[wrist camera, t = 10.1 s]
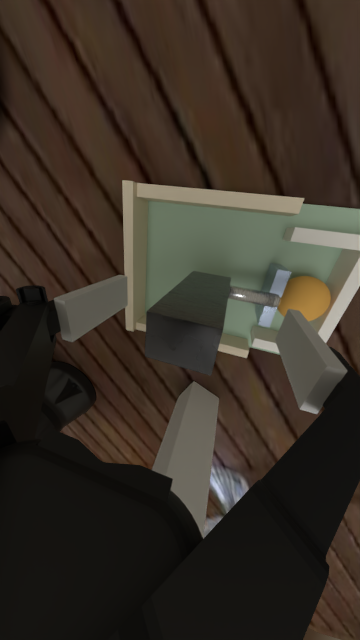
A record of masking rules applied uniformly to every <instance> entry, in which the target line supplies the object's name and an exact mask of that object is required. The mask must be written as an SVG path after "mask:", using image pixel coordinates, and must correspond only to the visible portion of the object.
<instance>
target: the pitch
mask: <svg viewBox="0 0 360 640" xmlns="http://www.w3.org/2000/svg"><path fill="white" fill-rule="evenodd" d="M122 184H123V227H124V271H125V276H127V290H128V306H126V307H125V314H126V330H129V331H134V330H135V329H137V330H141V331H145V332H146V312H147V310H148V309H150V308H151V307H152V306H153V305H154V304H155V303H157V302H158V301H159V300H160V299H161V298H162V297H164V296H165V295H166V294H167V293H168V292H169V291H171V290H172V289H173V288H174V287H175V286H176V285H177V284H179V283H180V282H181V281H182V280H183V279H184V278H186V277H187V276H188V275H189V274H190V273H191V272H193V271H197V272H203V273H208V274H214V275H219V276H225V277H230V278H231V282H230V285H232V286H237V287H243V288H248V289H253V290H258V291H261V289H262V286H263V283H264V280H265V277H266V274H267V271H268V268H269V265H270V263H276V264H281V265H283V266H284V267H285V268H287V269H288V270H289V271H291V274H290V277H289V279H288V280H290V279H292V278H295V277H299V276H310V277H314V278H317V279H319V280H321V281H322V282H324V283H325V284H326V286H327V287H328V289H329V291H330V295H331V301H330V305H329V307H328V309H327V310H326V311H325V313H324V314H322V315H321V316H320V317H318V318H317V319H315V320H312V321H308V322H309V323H310V324H311V326H312V327H313V328H314V329H315V331H316V332H317V333H318V334H319V336H320V337H321V338H322V339H323V341H324V342H325V343H326V342H327V340H328V339H329V337H330V335H331V334H332V332H333V330H334V328H335V327H336V325H337V323H338V322H339V320H340V318H341V317H342V315H343V313H344V312H345V310H346V308H347V306H348V305H349V303H350V301H351V300H352V298H353V296H354V295H355V293H356V291H357V289H358V288H359V286H360V209H353V208H342V207H332V206H322V205H311V204H303V201H304V198H296V197H285V196H274V195H263V194H252V193H241V192H230V191H219V190H208V189H197V188H186V187H175V186H164V185H153V184H142V183H136V182H134V181H125V180H122ZM255 307H256V304H253V303H248V302H243V301H238V300H233V299H228V302H227V308H226V315H225V321H224V328H223V332H222V336H221V340H220V344H219V347H218V351H221V352H225V353H229V354H232V355H236V356H240V357H244V358H247V355H248V353H249V347H252V348H256V349H260V350H264V351H268V352H272V353H276V354H280V353H279V350H278V347H277V344H276V341H275V339H276V336H277V334H278V331H279V329H280V327H281V324H282V322H283V320H284V316H283V315H282V314H281V313H280V312H279V311H278V309H277V310H276V312H275V315H274V317H273V320H272V322H271V325H270V327H265V326H261V325H258V323H257V318H256V314H255Z"/></svg>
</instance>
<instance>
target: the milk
mask: <svg viewBox="0 0 360 640" xmlns="http://www.w3.org/2000/svg"><path fill="white" fill-rule="evenodd" d="M218 405H219V398H218V397H217V396H215V395H214V394H212V393H211V392H209V391H208V390H206V389H205V388H204V387H202V386H201V385H199V384H198V383H196V382H195V381H193V382H192V383H191V384H190V385H189V386H188V387H187V388H186V389H185V390H184V391H183V392H182V393H181V395H180V396H179V397H178V399H177V402H176V405H175V408H174V410H173V413H172V416H171V419H170V421H169V424H168V427H167V430H166V432H165V435H164V438H163V441H162V443H161V446H160V449H159V452H158V454H157V457H156V460H155V463H154V465H153V468H152V470H153V471H155V472H157V473H160V474H162V475H165V476H167V477H170V478H172V479H173V481H172V486H171V491H172V492H173V493H174V494H176V495H177V496H178V497H179V498H180V500H181V501H182V502H183V503H184V504H185V505H186V507H187V508H188V510H189V511H190V513H191V514H192V516H193V518H194V520H195V522H196V523H197V525H198V527H199V530H200V532H201V535H202V537H203V536H204V528H205V519H206V510H207V501H208V493H209V484H210V475H211V466H212V458H213V449H214V440H215V431H216V423H217V414H218Z"/></svg>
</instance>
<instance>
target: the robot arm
mask: <svg viewBox="0 0 360 640" xmlns="http://www.w3.org/2000/svg"><path fill="white" fill-rule="evenodd" d="M16 292H17V295H18V299H19V302H20V304H19V305H12V304H11V301H10V298H9V297H7V296H0V640H303V638H304V635H305V632H306V631H307V628H308V626H309V624H310V621H311V619H312V616H313V614H314V611H315V609H316V607H317V604H318V602H319V599H320V597H321V594H322V592H323V590H324V587H325V584H326V581H327V578H328V575H329V565H328V564H327V562H326V561H325V560H326V554H327V552H328V549H329V547H330V545H331V543H332V540H333V538H334V536H335V534H336V532H337V529H338V527H339V525H340V523H341V521H342V518H343V516H344V514H345V512H346V509H347V507H348V505H349V503H350V501H351V498H352V496H353V494H354V492H355V490H356V487H357V485H358V483H359V481H360V376H359V375H358V374H357V373H356V372H355V370H354V369H353V368H352V367H351V366H349V363H348V362H347V361H346V360H345V359H344V358H343V356H342V355H341V354H340V353H339V352H337V351H336V350H335V349H333V348H332V347H328V346H327V344H326V343H325V342H324V341H323V339H322V338H321V337H320V336H319V334H318V333H317V332H316V331H315V329H314V328H313V327H312V326H311V324H310V323H309V322H308V321H307V319H306V318H305V317H304V316H303V315H302V313H301V312H300V311H298V310H293V309H288V310H287V313H286V315H285V317H284V320H283V322H282V324H281V327H280V329H279V331H278V334H277V336H276V339H275V341H276V344H277V347H278V350H279V353H280V355H281V358H282V361H283V364H284V367H285V369H286V372H287V375H288V378H289V381H290V384H291V386H292V389H293V392H294V395H295V398H296V400H297V403H298V406H299V409H301V410H304V411H308V412H311V413H315V414H317V413H318V412H319V410H320V409H321V408H322V406H324V408H325V410H324V411H323V412H322V413H321V414H320V416H319V417H318V418H317V419H316V420H315V421H314V422H313V423H312V424H311V425H310V427H309V428H308V429H307V430H306V431H305V432H304V433H303V434H302V435H301V436H300V438H299V439H298V440H297V441H296V442H295V443H294V444H293V445H292V446H291V447H290V449H289V450H288V451H287V452H286V453H285V454H284V455H283V456H282V457H281V458H280V460H279V461H278V462H277V463H276V464H275V465H274V466H273V467H272V468H271V470H270V471H269V472H268V473H267V474H266V475H265V476H264V477H263V478H262V479H261V480H258V481H257V482H256V483H255V484H254V485H253V486H252V487H251V488H250V489H249V490H248V491H247V492H246V493H245V495H244V496H243V497H242V498H241V499H240V500H239V501H238V502H237V503H236V504H235V505H234V506H233V508H232V509H231V510H230V511H229V512H228V513H227V514H226V515H225V516H224V517H223V518H222V519H221V521H220V522H219V523H218V524H217V525H216V526H215V527H214V528H213V529H212V530H211V531H210V533H209V534H208V535H207V536H206V537H205V538H204V539H203V537H202V535H201V532H200V530H199V527H198V525H197V523H196V522H195V520H194V518H193V516H192V514H191V513H190V511H189V510H188V508H187V507H186V505H185V504H184V503H183V502H182V501H181V500H180V498H179V497H178V496H177V495H176V494H174V493H173V492H172V491H171V486H172V481H173V479H172V478H170V477H167V476H165V475H162V474H160V473H157V472H155V471H153V470H150V469H148V468H145V467H143V466H140V465H129V464H116V463H105V462H102V461H100V460H99V459H98V458H97V457H96V456H95V455H94V454H93V453H92V452H91V451H90V450H89V449H88V448H87V447H85V446H84V445H83V444H82V443H81V442H80V441H79V440H77V439H75V438H73V437H70V436H68V435H65V434H63V433H60V431H61V430H62V428H63V427H65V426H66V425H68V424H69V423H71V422H72V421H74V420H75V419H76V418H78V417H79V416H81V415H82V414H84V413H85V412H87V411H88V410H89V409H90V407H91V406H92V405H93V404H94V403H95V400H96V394H95V390H94V388H93V386H92V384H91V383H90V381H89V380H88V379H87V378H86V377H85V375H83V374H82V373H81V372H80V371H79V370H77V369H76V368H74V367H73V366H71V365H69V364H66V363H63V362H52V357H53V353H54V348H55V344H56V335H55V334H56V333H58V332H59V331H61V335H62V339H64V340H67V341H70V342H73V341H75V340H76V339H78V338H79V337H81V336H82V335H84V334H85V333H87V332H88V331H90V330H91V329H93V328H94V327H96V326H97V325H99V324H101V323H102V322H104V321H105V320H107V319H108V318H110V317H111V316H113V315H114V314H116V313H117V312H119V311H120V310H122V309H123V308H125V307H126V306H128V290H127V276H123V275H117V276H115V277H112V278H109V279H106V280H103V281H101V282H98V283H95V284H92V285H89V286H87V287H84V288H81V289H78V290H75V291H73V292H70V293H67V294H64V295H61V296H59V297H56V298H54V300H52V301H49V302H48V300H47V295H46V291H45V287H42V286H24V287H20V288H17V289H16ZM51 362H52V363H51Z"/></svg>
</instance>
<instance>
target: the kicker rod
mask: <svg viewBox="0 0 360 640" xmlns="http://www.w3.org/2000/svg"><path fill="white" fill-rule="evenodd" d="M290 274H291V271H289V270H288V269H287V268H285V267H284V266H283V265H281V264H276V263H270V265H269V268H268V271H267V274H266V277H265V280H264V283H263V286H262V289H261V291H258V290H253V289H248V288H243V287H237V286H232V285H230V282H231V278H230V277H225V276H219V275H214V274H208V273H203V272H197V271H193V272H191V273H190V274H189V275H188V276H187V277H186V278H184V279H183V280H182V281H181V282H180V283H179V284H177V285H176V286H175V287H174V288H173V289H172V290H171V291H169V292H168V293H167V294H166V295H165V296H164V297H162V298H161V299H160V300H159V301H158V302H157V303H155V304H154V305H153V306H152V307H151V308H150V309H148V310H147V312H146V340H145V357H148V358H152V359H155V360H159V361H162V362H166V363H169V364H172V365H176V366H179V367H183V368H186V369H190V370H193V371H196V372H200V373H203V374H207V375H210V376H211V374H212V370H213V366H214V363H215V359H216V355H217V351H218V347H219V344H220V340H221V336H222V332H223V328H224V321H225V315H226V308H227V302H228V299H233V300H238V301H243V302H248V303H253V304H256V307H255V314H256V318H257V323H258V325H261V326H265V327H270V325H271V322H272V320H273V317H274V315H275V312H276V310H277V307H278V306H279V305H280V303H281V297H282V295H283V292H284V289H285V287H286V284H287V282H288V279H289V277H290Z"/></svg>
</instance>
